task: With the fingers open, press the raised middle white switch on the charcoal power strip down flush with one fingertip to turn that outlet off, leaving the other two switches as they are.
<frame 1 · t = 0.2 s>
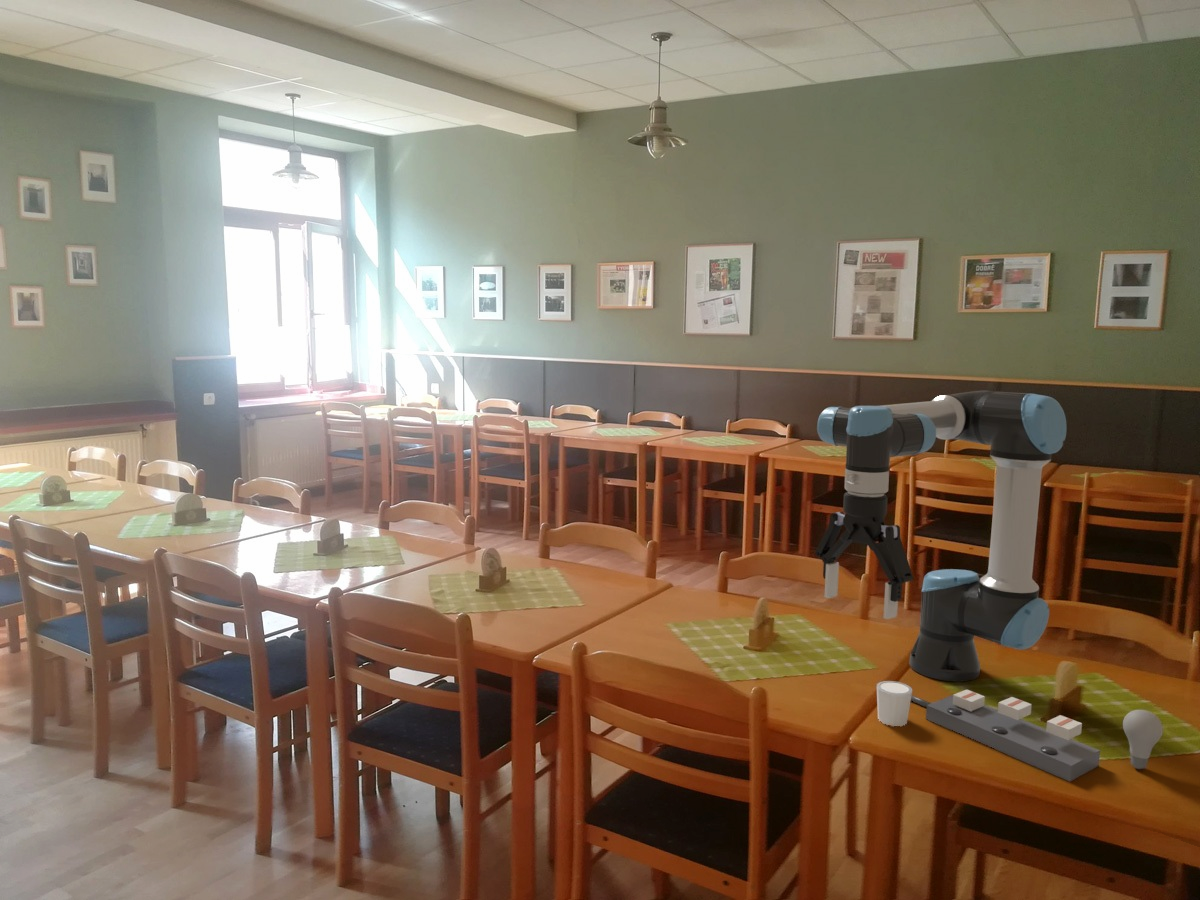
hand: (859, 607, 161), 28 cm above the table, tool pointing down, fingers open, 13 cm apart
white cup: (892, 721, 177), on the table
middle switch: (1014, 708, 168), point 6 cm above the table, slide at 2.0 cm
far end switch: (1064, 727, 161), point 6 cm above the table, slide at 2.0 cm
lightbulb: (1138, 769, 159), on the table
cord end switch: (968, 700, 176), point 4 cm above the table, slide at 0.0 cm
power strip: (1007, 741, 169), on the table
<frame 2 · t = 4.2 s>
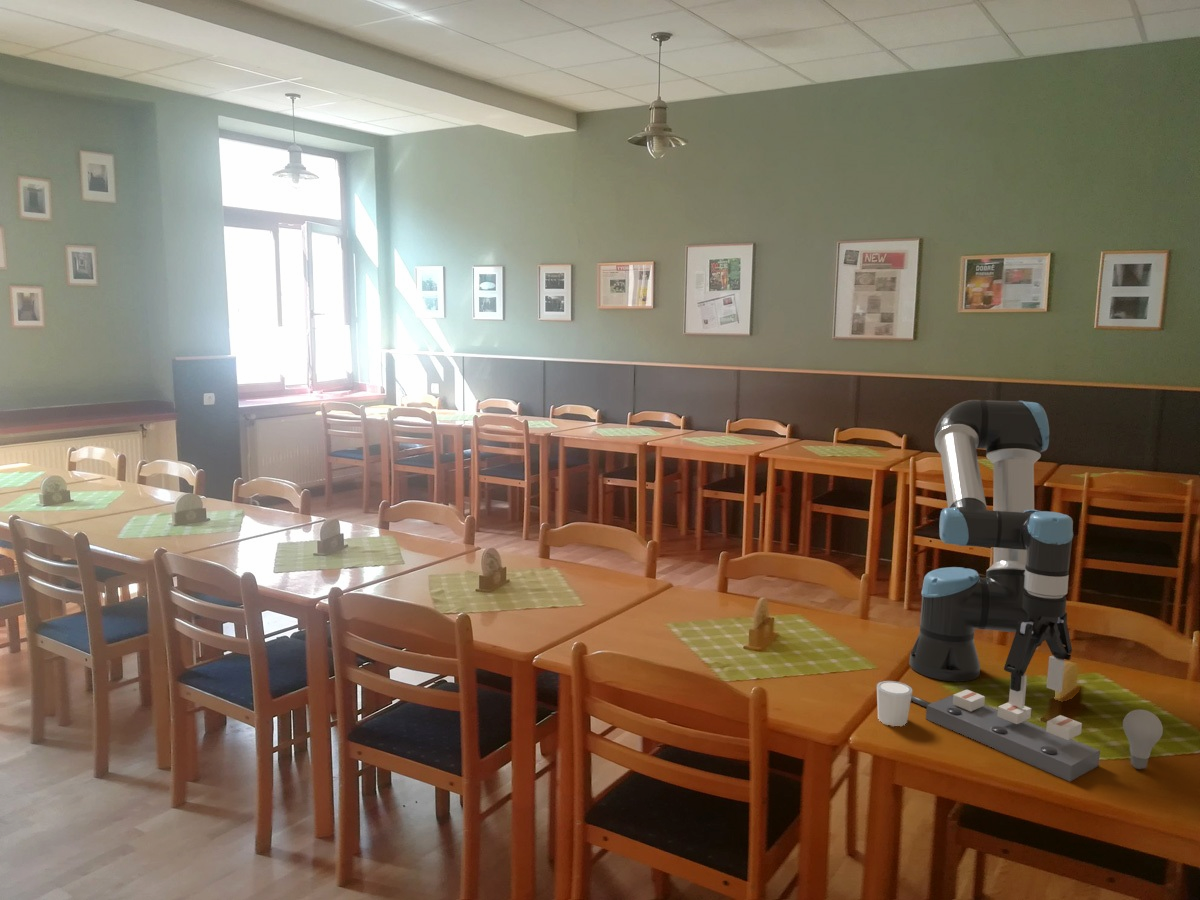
hand: (1035, 697, 172), 7 cm above the table, tool pointing down, fingers open, 13 cm apart
middle switch: (1014, 712, 169), point 6 cm above the table, slide at 1.2 cm, touching gripper
everything else where it was.
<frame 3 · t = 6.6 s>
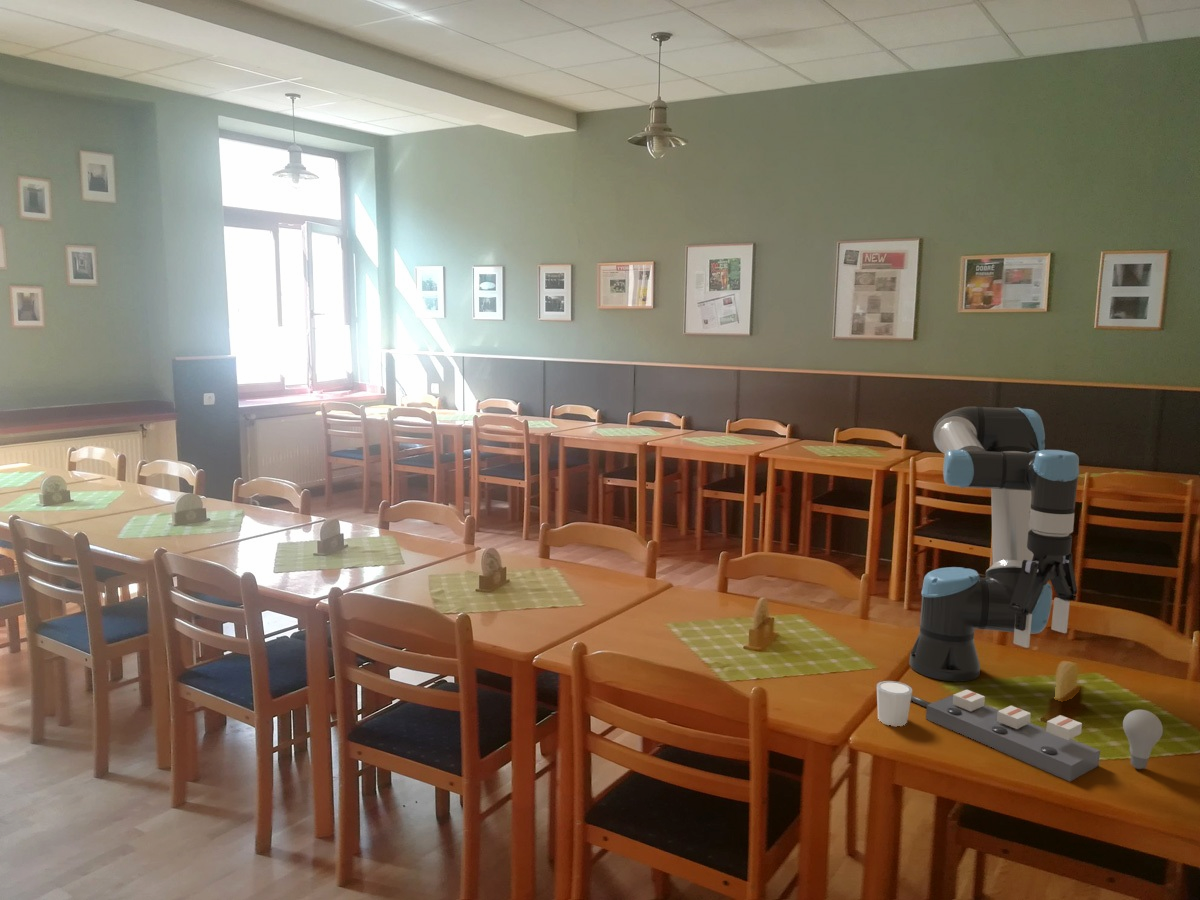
hand: (1040, 638, 171), 19 cm above the table, tool pointing down, fingers open, 13 cm apart
middle switch: (1013, 716, 169), point 5 cm above the table, slide at 0.2 cm
everything else where it was.
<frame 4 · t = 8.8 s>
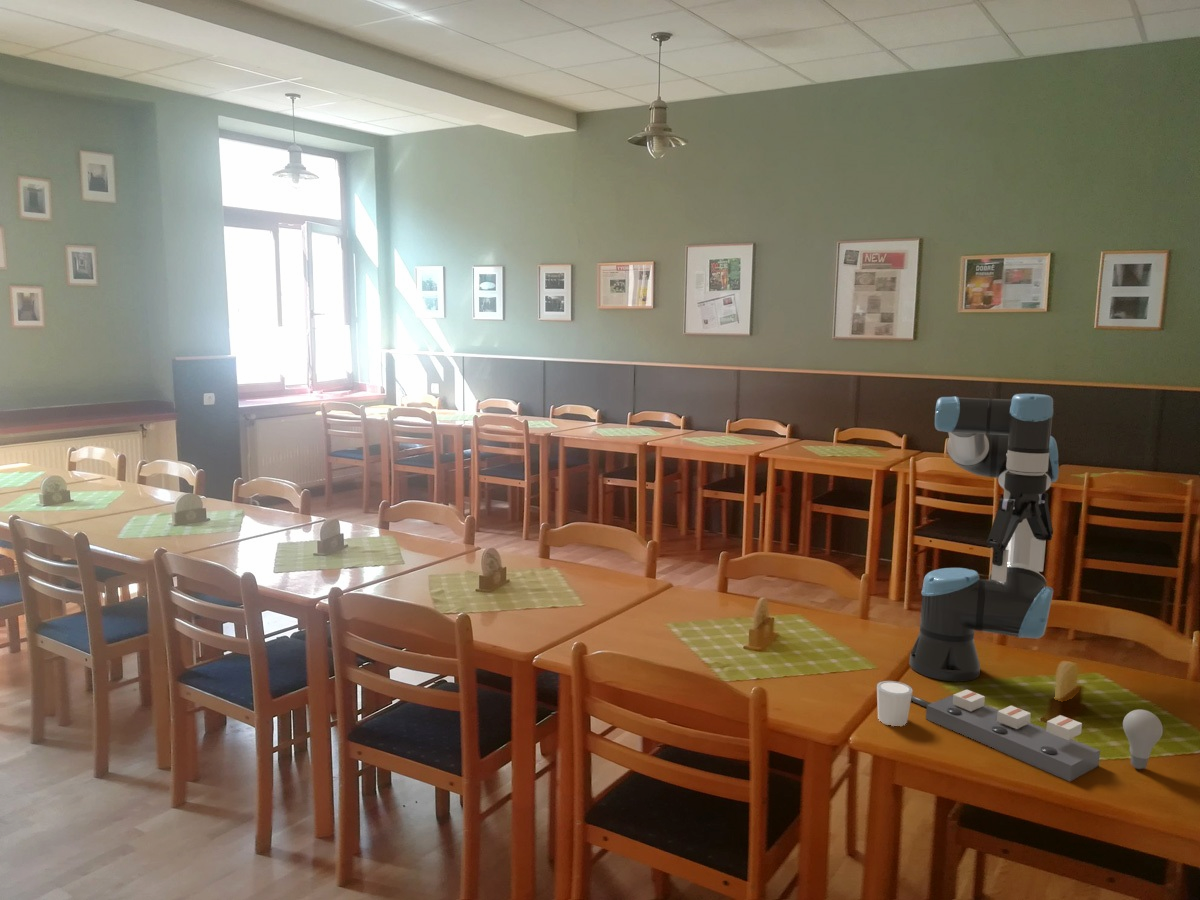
hand: (1017, 575, 178), 29 cm above the table, tool pointing down, fingers open, 13 cm apart
nothing on the table moved.
at the end: middle switch slide at 0.2 cm; far end switch slide at 2.0 cm; cord end switch slide at 0.0 cm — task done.
